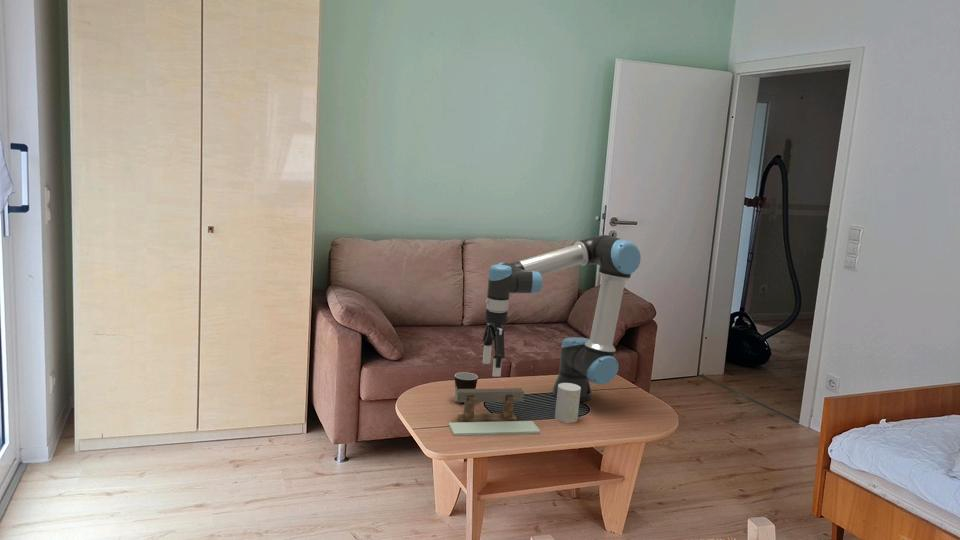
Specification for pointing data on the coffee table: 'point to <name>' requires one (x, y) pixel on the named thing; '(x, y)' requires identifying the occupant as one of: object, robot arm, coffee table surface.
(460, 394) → the rail
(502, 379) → the coffee table surface
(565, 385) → the light grey cylinder plug
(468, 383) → the coffee mug
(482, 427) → the mat
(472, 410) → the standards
